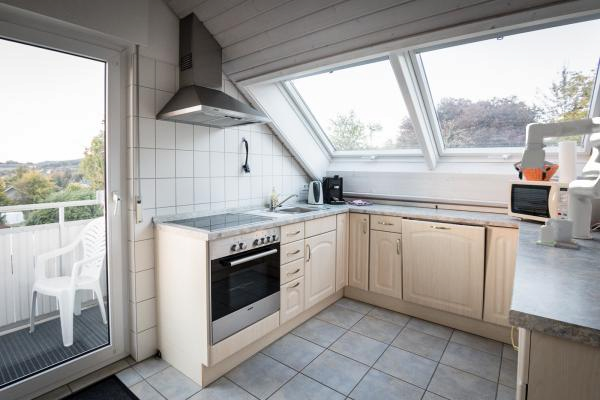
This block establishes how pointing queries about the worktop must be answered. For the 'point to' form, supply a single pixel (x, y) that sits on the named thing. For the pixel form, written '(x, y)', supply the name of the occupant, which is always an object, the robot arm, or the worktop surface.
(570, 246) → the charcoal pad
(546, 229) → the eye dropper bottle
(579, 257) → the worktop surface
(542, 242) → the sage pad
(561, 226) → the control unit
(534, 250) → the worktop surface
